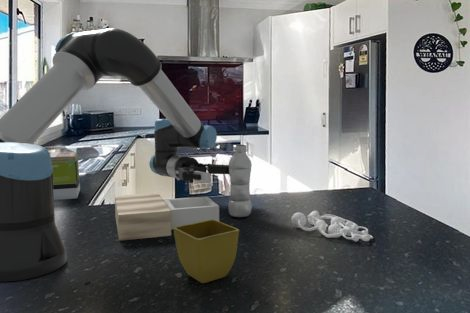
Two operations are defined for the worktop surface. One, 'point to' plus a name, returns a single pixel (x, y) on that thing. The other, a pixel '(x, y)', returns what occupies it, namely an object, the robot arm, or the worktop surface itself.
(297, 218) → the tangled rod sculpture
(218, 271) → the flower pot
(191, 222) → the frame
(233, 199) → the plastic bottle
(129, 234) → the beige rectangular block
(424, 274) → the worktop surface
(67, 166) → the tea box
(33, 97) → the robot arm
